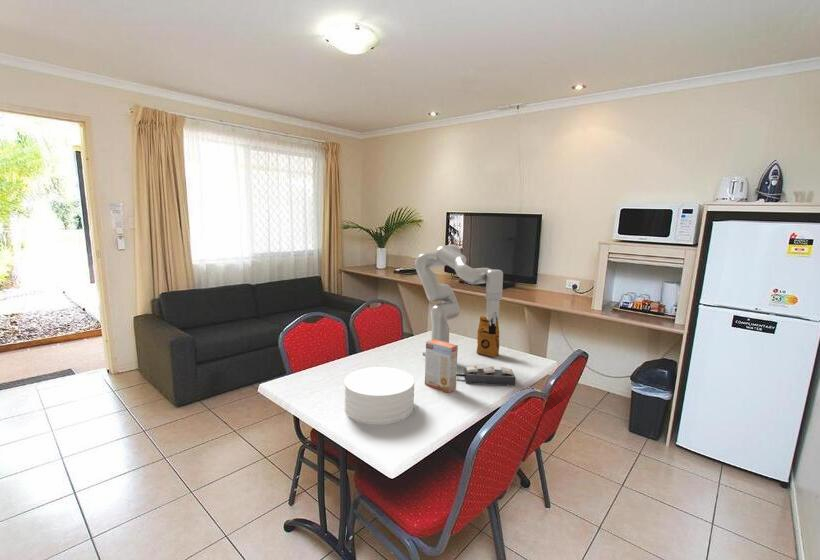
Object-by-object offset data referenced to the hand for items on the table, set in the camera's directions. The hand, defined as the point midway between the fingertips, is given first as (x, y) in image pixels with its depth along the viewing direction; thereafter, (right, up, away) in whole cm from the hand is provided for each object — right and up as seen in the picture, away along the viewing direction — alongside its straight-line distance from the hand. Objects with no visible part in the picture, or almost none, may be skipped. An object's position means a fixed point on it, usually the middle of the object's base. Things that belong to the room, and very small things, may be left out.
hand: (492, 333), depth 183 cm
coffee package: (+6, -18, +39) cm, 43 cm away
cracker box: (-25, -24, -7) cm, 35 cm away
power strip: (-4, -23, +2) cm, 23 cm away
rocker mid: (-1, -19, +1) cm, 19 cm away
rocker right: (+7, -19, +1) cm, 20 cm away
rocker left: (-9, -19, +2) cm, 21 cm away
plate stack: (-52, -26, -27) cm, 64 cm away
